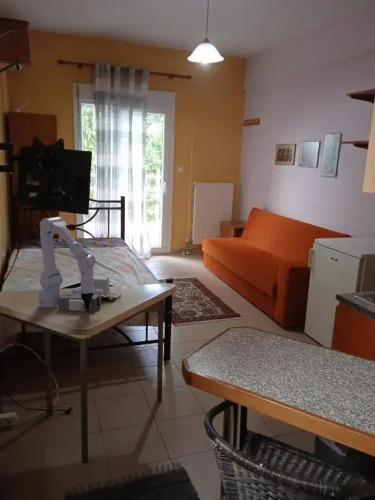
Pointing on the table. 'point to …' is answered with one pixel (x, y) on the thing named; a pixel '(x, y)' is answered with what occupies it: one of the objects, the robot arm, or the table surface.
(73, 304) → the camera door
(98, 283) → the small box
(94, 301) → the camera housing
